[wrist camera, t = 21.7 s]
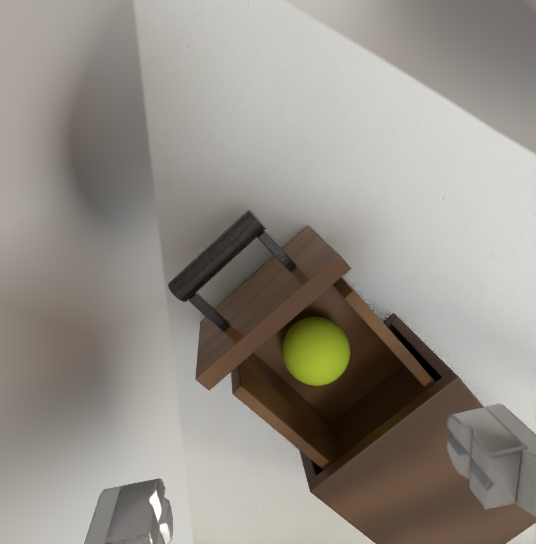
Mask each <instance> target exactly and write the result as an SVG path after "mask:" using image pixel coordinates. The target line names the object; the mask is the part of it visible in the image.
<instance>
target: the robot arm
mask: <svg viewBox="0 0 536 544" xmlns="http://www.w3.org/2000/svg"><path fill="white" fill-rule="evenodd" d="M447 427H448V429H449V430H450V431H451V433H450V435H449V436H448V438H447V451H448V454H449V458H450V460H451V462H452V464H453V466H454V467H455V469H456V470H457V472H458V473H459V474H460V475H462V476H464V477H466V478H468V479H469V480H470V486H469V488H470V489H471V491H472V492H473V493H474V495H475V496H476V497H477V499H478V500H479V501H480V503H481V504H482V506H483V507H484V508H485V510H486V509H491V508H496V507H501V506H506V505H510V504H515V503H517V506H519V507H520V508H522V509H524V510H525V511H527V512H528V513H530V514H531V515H533V516H534V517H536V434H535V433H534V432H533V431H531V430H530V429H529V428H528V427H527V426H526V425H525V424H524V423H523V422H522V421H520V420H519V419H518V418H517V417H516V416H515V415H514V414H513V413H512V412H511V411H509V410H508V409H507V408H506V407H505V406H504V405H501V404H495V405H491V406H487V407H483V408H478V409H474V410H469V411H465V412H461V413H456V414H452V415H449V416H448V418H447ZM164 494H165V486H164V484H163V481H162V479H154V480H149V481H144V482H139V483H133V484H128V485H124V486H120V487H114V488H109V489H104V490H103V491H102V493H101V495H100V496H99V499H98V502H97V505H96V508H95V512H94V515H93V518H92V521H91V524H90V527H89V530H88V533H87V536H86V539H85V543H84V544H170V542H171V541H172V534H173V516H172V510H171V506H170V502H169V500H167V499H166V498H164Z"/></svg>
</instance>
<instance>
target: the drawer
mask: <svg viewBox="0 0 536 544" xmlns="http://www.w3.org/2000/svg"><path fill="white" fill-rule="evenodd" d="M265 229H266V227H265V226H264V224H263V223H262V222H261V221H260V220H259V219H258V218H257V216H256V215H255V214H254V213H253V212H252V211H251V210H247V211H246V212H245V213H244V214H243V215H242V216H241V217H240V218H239V219H238V220H237V221H235V222H234V223H233V224H232V225H231V226H230V227H229V228H228V229H227V230H226V231H225V232H224V233H223V234H221V235H220V236H219V237H218V238H217V239H216V240H215V241H214V242H213V243H212V244H211V245H210V246H208V247H207V248H206V249H205V250H204V251H203V252H202V253H201V254H200V255H199V256H198V257H197V258H196V259H194V260H193V261H192V262H191V263H190V264H189V265H188V266H187V267H186V268H185V269H184V270H183V271H181V272H180V273H179V274H178V275H177V276H176V277H175V278H174V279H173V280H172V281H171V282H170V283H169V284H168V287H169V289H170V291H171V292H172V293H173V295H174V296H175V297H177V298H178V299H179V300H181V301H183V302H186V301H187V300H188V299H189V301H190V302H191V303H192V304H193V305H194V306H195V307H196V308H197V309H199V310H200V311H201V312H202V313H203V314H204V315H205V316H206V317H205V318H204V319H203V320H202V321H201V322H200V332H199V344H198V356H197V367H196V380H197V381H198V382H199V383H201V384H202V385H203V386H204V387H206V388H207V389H208V390H210V389H211V388H213V387H214V386H215V385H216V384H217V383H218V382H220V381H221V380H222V379H223V378H224V377H225V376H227V375H228V374H229V373H230V372H231V378H232V393H233V395H235V396H236V397H237V398H238V399H239V400H241V401H242V402H243V403H244V404H245V405H247V406H248V407H249V408H250V409H251V410H253V411H254V412H255V413H256V414H257V415H259V416H260V417H261V418H262V419H263V420H265V421H266V422H267V423H268V424H269V425H270V426H272V427H273V428H274V429H275V430H276V431H278V432H279V433H280V434H281V435H282V436H284V437H285V438H286V439H287V440H288V441H290V442H291V443H292V444H293V445H294V446H296V447H297V448H298V449H299V450H300V451H302V452H303V453H304V454H305V455H306V456H308V457H309V458H310V459H311V460H312V461H314V462H315V463H316V464H317V465H318V466H320V467H321V468H322V469H323V470H325V469H326V468H327V467H328V466H330V465H331V464H332V463H333V462H335V461H336V460H337V459H339V458H340V457H341V456H342V455H344V454H345V453H346V452H348V451H349V450H350V449H351V448H353V447H354V446H355V445H357V444H358V443H359V442H360V441H362V440H363V439H364V438H365V437H367V436H368V435H369V434H371V433H372V432H373V431H374V430H376V429H377V428H378V427H380V426H381V425H382V424H383V423H385V422H386V421H387V420H389V419H390V418H391V417H392V416H394V415H395V414H396V413H397V412H399V411H400V410H401V409H403V408H404V407H405V406H406V405H408V404H409V403H410V402H412V401H413V400H414V399H415V398H417V397H418V396H419V395H421V394H422V393H423V392H424V391H426V390H427V389H428V388H429V387H431V386H432V385H433V384H435V383H436V382H435V381H434V380H433V378H432V377H431V376H430V375H429V374H428V373H427V372H426V371H425V369H424V368H423V367H422V366H421V365H420V364H419V363H418V362H417V360H416V359H415V358H414V357H413V356H412V355H411V354H410V353H409V351H408V350H407V349H406V348H405V347H404V346H403V345H402V344H401V342H400V341H399V340H398V339H397V338H396V337H395V336H394V334H393V333H392V332H391V331H390V330H389V329H388V328H387V327H386V325H385V324H384V323H383V322H382V321H381V320H380V319H379V318H378V316H377V315H376V314H375V313H374V312H373V311H372V310H371V309H370V307H369V306H368V305H367V304H366V303H365V302H364V301H363V300H362V298H361V297H360V296H359V295H358V294H357V293H356V292H355V291H354V289H353V288H352V287H351V286H350V285H349V284H348V283H347V282H346V281H345V279H344V278H343V277H342V276H343V275H344V274H345V273H346V272H348V271H349V270H350V269H351V268H350V266H349V265H348V264H347V263H346V262H345V261H344V259H343V258H342V257H341V256H340V255H339V254H338V253H337V252H336V251H335V250H334V249H333V248H332V247H331V246H330V245H329V244H328V243H326V242H325V241H324V240H323V239H322V238H321V237H320V236H319V235H318V234H317V233H316V232H315V231H314V230H313V229H312V228H311V227H310V226H307V227H306V228H305V229H304V230H303V231H302V232H300V233H299V234H298V235H297V236H296V237H295V238H294V239H293V240H292V241H290V242H289V243H288V244H287V245H286V246H285V247H284V248H283V249H281V248H280V247H279V245H278V244H277V243H276V242H275V241H274V240H273V239H272V238H271V237H270V236H269V235H268V234H267V233H266V231H265ZM256 237H258V239H259V240H260V241H261V242H262V243H263V244H264V245H265V246H266V247H267V248H268V249H269V250H270V252H271V253H272V254H273V255H274V257H273V258H271V259H270V260H269V261H268V262H267V263H266V264H265V265H264V266H262V267H261V268H260V269H259V270H258V271H257V272H256V273H255V274H254V275H252V276H251V277H250V278H249V279H248V280H247V281H246V282H245V283H243V284H242V285H241V286H240V287H239V288H238V289H237V290H236V291H235V292H233V293H232V294H231V295H230V296H229V297H228V298H227V299H226V300H224V301H223V302H222V303H221V304H220V305H219V306H218V307H217V308H216V309H214V308H213V307H212V306H211V305H209V304H208V303H207V302H206V301H205V300H204V299H203V298H202V297H201V296H200V295H199V294H197V293H196V292H197V291H198V290H199V289H200V288H202V287H203V286H204V285H205V284H206V283H207V282H208V281H209V280H210V279H211V278H212V277H214V276H215V275H216V274H217V273H218V272H219V271H220V270H221V269H222V268H223V267H225V266H226V265H227V264H228V263H229V262H230V261H231V260H232V259H233V258H234V257H236V256H237V255H238V254H239V253H240V252H241V251H242V250H243V249H244V248H245V247H247V246H248V245H249V244H250V243H251V242H252V241H253V240H254V239H255V238H256ZM308 317H322V318H326V319H329V320H331V321H333V322H334V323H336V324H337V325H338V326H339V327H340V328H341V329H342V330H343V331H344V333H345V335H346V337H347V339H348V342H349V346H350V358H349V363H348V365H347V367H346V369H345V371H344V372H343V373H342V375H341V376H340V377H339V378H337V379H336V380H335V381H333V382H331V383H329V384H325V385H319V386H315V385H309V384H305V383H303V382H301V381H299V380H298V379H296V378H295V377H294V376H293V375H292V374H291V373H290V372H289V370H288V369H287V367H286V365H285V363H284V360H283V355H282V345H283V341H284V338H285V336H286V334H287V332H288V330H289V329H290V328H291V327H292V326H293V325H294V324H295V323H297V322H298V321H300V320H302V319H305V318H308Z"/></svg>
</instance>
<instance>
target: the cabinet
mask: <svg viewBox="0 0 536 544" xmlns="http://www.w3.org/2000/svg"><path fill="white" fill-rule="evenodd" d="M383 323H384V324H385V325H386V327H387V328H388V329H389V330H390V331H391V332H392V333H393V334H394V336H395V337H396V338H397V339H398V340H399V341H400V342H401V344H402V345H403V346H404V347H405V348H406V349H407V350H408V351H409V353H410V354H411V355H412V356H413V357H414V358H415V359H416V360H417V362H418V363H419V364H420V365H421V366H422V367H423V368H424V369H425V371H426V372H427V373H428V374H429V375H430V376H431V377H432V378H433V380H434V381H435V382H436V383H435V384H433V385H432V386H431V387H429V388H428V389H427V390H426V391H424V392H423V393H422V394H421V395H419V396H418V397H417V398H415V399H414V400H413V401H412V402H410V403H409V404H408V405H406V406H405V407H404V408H403V409H401V410H400V411H399V412H397V413H396V414H395V415H394V416H392V417H391V418H390V419H389V420H387V421H386V422H385V423H383V424H382V425H381V426H380V427H378V428H377V429H376V430H374V431H373V432H372V433H371V434H369V435H368V436H367V437H365V438H364V439H363V440H362V441H360V442H359V443H358V444H357V445H355V446H354V447H353V448H351V449H350V450H349V451H348V452H346V453H345V454H344V455H342V456H341V457H340V458H339V459H337V460H336V461H335V462H333V463H332V464H331V465H330V466H328V467H327V468H326V469H325V470H323V469H322V468H321V467H320V466H318V465H317V464H316V463H315V462H314V461H312V460H311V459H310V458H309V457H308V456H306V455H305V454H304V453H303V452H302V451H300V450H299V451H300V455H301V458H302V462H303V466H304V470H305V473H306V477H307V481H308V485H309V489H310V492H311V493H312V494H314V495H315V496H316V497H317V498H319V499H320V500H321V501H323V502H324V503H325V504H326V505H328V506H329V507H330V508H331V509H333V510H334V511H335V512H336V513H338V514H339V515H340V516H341V517H343V518H344V519H345V520H347V521H348V522H349V523H350V524H352V525H353V526H354V527H355V528H357V529H358V530H359V531H360V532H362V533H363V534H364V535H365V536H367V537H368V538H369V539H371V540H372V541H373V542H374V543H376V544H506V543H507V542H509V541H510V540H511V539H513V538H514V537H516V536H517V535H519V534H520V533H521V532H523V531H524V530H526V529H527V528H529V527H530V526H532V525H533V524H534V523H536V517H534V516H533V515H531V514H530V513H528V512H527V511H525V510H524V509H522V508H520V507H519V506H517V503H515V504H510V505H506V506H501V507H496V508H491V509H486V510H485V508H484V507H483V506H482V504H481V503H480V501H479V500H478V499H477V497H476V496H475V495H474V493H473V492H472V491H471V489H470V488H469V486H470V480H469V479H468V478H466V477H464V476H462V475H460V474H459V473H458V472H457V470H456V469H455V467H454V466H453V464H452V462H451V460H450V458H449V454H448V451H447V438H448V436H449V435H450V433H451V431H450V430H449V429H448V427H447V418H448V416H449V415H452V414H456V413H461V412H465V411H469V410H474V409H478V408H483V407H484V406H483V405H482V404H481V403H480V402H479V400H478V399H477V398H476V397H475V396H474V395H473V393H472V392H471V391H470V390H469V389H468V387H467V386H466V385H465V384H464V383H463V382H462V380H461V379H460V378H459V377H458V376H457V375H456V374H455V373H454V372H453V371H452V370H451V369H450V368H449V367H448V366H447V365H446V364H445V363H444V362H443V361H442V360H441V359H440V358H439V357H438V356H437V355H436V354H435V353H434V352H433V351H432V350H431V349H430V348H429V347H428V346H427V345H426V344H425V343H424V342H423V341H422V340H421V339H420V338H419V337H418V336H417V335H416V334H415V333H414V332H413V331H412V330H411V329H409V328H408V327H407V326H406V325H405V324H404V323H403V322H402V321H401V320H400V319H399V318H398V317H397V316H396V315H395V314H393V315H392V316H390V317H389V318H388V319H387V320H385V321H384V322H383Z"/></svg>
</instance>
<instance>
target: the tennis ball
mask: <svg viewBox="0 0 536 544" xmlns="http://www.w3.org/2000/svg"><path fill="white" fill-rule="evenodd" d="M282 355H283V360H284V363H285V365H286V367H287V369H288V370H289V372H290V373H291V374H292V375H293V376H294V377H295V378H296V379H298V380H299V381H301V382H303V383H305V384H309V385H315V386H319V385H325V384H329V383H331V382H333V381H335V380H336V379H337V378H339V377H340V376H341V375H342V373H343V372H344V371H345V369H346V367H347V365H348V363H349V358H350V346H349V342H348V339H347V337H346V335H345V333H344V331H343V330H342V329H341V328H340V327H339V326H338V325H337V324H336V323H334V322H333V321H331V320H329V319H326V318H322V317H308V318H305V319H302V320H300V321H298V322H297V323H295V324H294V325H293V326H292V327H291V328H290V329H289V330H288V332H287V334H286V336H285V338H284V341H283V345H282Z"/></svg>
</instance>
